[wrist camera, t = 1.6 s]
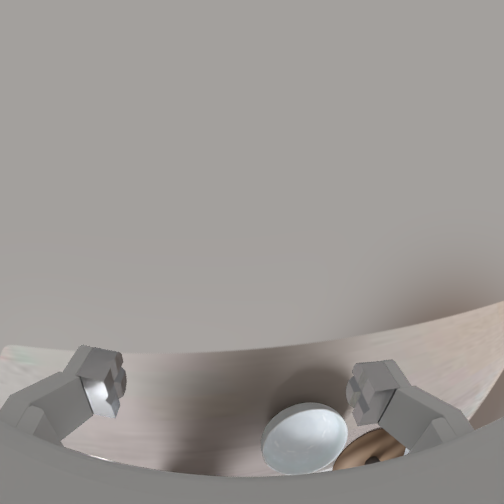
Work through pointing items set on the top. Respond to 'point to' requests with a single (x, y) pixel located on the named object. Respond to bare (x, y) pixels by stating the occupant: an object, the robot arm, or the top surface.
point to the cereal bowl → (303, 438)
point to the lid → (369, 450)
